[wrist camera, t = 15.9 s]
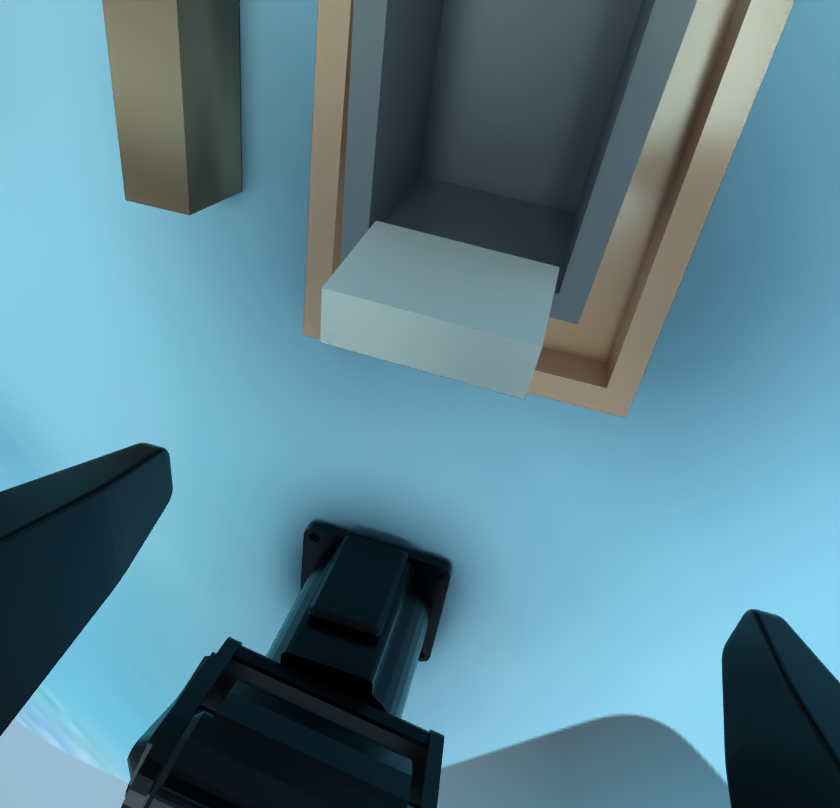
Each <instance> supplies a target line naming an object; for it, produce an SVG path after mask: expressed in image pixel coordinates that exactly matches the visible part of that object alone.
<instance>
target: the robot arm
mask: <svg viewBox="0 0 840 808" xmlns="http://www.w3.org/2000/svg"><path fill="white" fill-rule="evenodd" d="M172 490H173V485H172V475H171V465H170V456H169V453H168V451H167V450H166V449H165V448H163V447H159V446H156V445H152V444H148V443H139V444H136V445H133V446H130V447H127V448H124V449H121V450H118V451H116V452H113V453H110V454H107V455H104V456H101V457H98V458H96V459H93V460H90V461H87V462H84V463H81V464H78V465H76V466H73V467H70V468H67V469H64V470H61V471H58V472H56V473H53V474H50V475H47V476H44V477H41V478H38V479H36V480H33V481H30V482H27V483H24V484H21V485H18V486H16V487H13V488H10V489H7V490H4V491H1V492H0V736H1V735H2V733H3V732H4V731H5V729H6V728H7V727H8V726H9V724H10V723H11V722H12V720H13V719H14V718H15V717H16V715H17V714H18V713H19V711H20V710H21V709H22V707H23V706H24V705H25V704H26V702H27V701H28V700H29V698H30V697H31V696H32V694H33V693H34V692H35V691H36V689H37V688H38V687H39V685H40V684H41V683H42V682H43V680H44V679H45V678H46V676H47V675H48V674H49V672H50V671H51V670H52V669H53V667H54V666H55V665H56V663H57V662H58V661H59V659H60V658H61V657H62V656H63V654H64V653H65V652H66V650H67V649H68V648H69V647H70V645H71V644H72V643H73V641H74V640H75V639H76V637H77V636H78V635H79V634H80V632H81V631H82V630H83V628H84V627H85V626H86V624H87V623H88V622H89V621H90V619H91V618H92V617H93V615H94V614H95V613H96V612H97V610H98V609H99V608H100V606H101V605H102V604H103V602H104V601H105V600H106V599H107V597H108V596H109V595H110V593H111V592H112V591H113V589H114V588H115V587H116V585H117V584H118V583H119V581H120V580H121V578H122V577H123V575H124V574H125V572H126V571H127V569H128V568H129V566H130V564H131V563H132V561H133V560H134V558H135V556H136V555H137V553H138V551H139V550H140V548H141V547H142V545H143V543H144V542H145V540H146V538H147V537H148V535H149V534H150V532H151V530H152V529H153V527H154V525H155V524H156V522H157V521H158V519H159V517H160V516H161V514H162V513H163V511H164V509H165V508H166V506H167V504H168V503H169V501H170V498H171V495H172ZM316 534H317V535H316ZM318 535H319V536H318ZM438 571H441V572H438ZM451 573H452V567H451V565H450V564H449V563H448V562H446V561H444V560H441V559H438V558H435V557H431V556H428V555H425V554H421V553H418V552H415V551H411V550H408V549H404V548H401V547H398V546H394V545H391V544H388V543H384V542H381V541H378V540H374V539H371V538H368V537H364V536H361V535H358V534H354V533H351V532H348V531H344V530H341V529H337V528H334V527H331V526H327V525H324V524H321V523H316V522H314V523H311V524H309V525H308V527H307V528H306V530H305V532H304V539H303V556H302V573H301V590H300V594H299V596H298V597H297V599H296V601H295V603H294V605H293V607H292V609H291V611H290V612H289V614H288V616H287V618H286V620H285V622H284V624H283V625H282V627H281V629H280V631H279V633H278V635H277V637H276V639H275V640H274V642H273V644H272V646H271V648H270V650H269V652H268V653H267V655H266V656H263V655H261V654H259V653H257V652H255V651H253V650H250V649H248V648H246V647H244V646H242V642H239V641H237V640H235V639H233V638H231V637H228V638H227V640H226V641H225V643H224V644H223V645H222V647H221V648H220V649H219V651H218V652H217V654H216V653H212V654H211V655H210V656H205V657H204V658H203V660H202V661H201V663H200V664H199V666H198V668H197V669H196V671H195V672H194V674H193V675H192V677H191V679H190V680H189V682H188V683H187V685H186V686H185V688H184V689H183V691H182V692H181V693H180V695H179V696H178V697H177V698H176V700H175V701H174V702H173V703H172V704H171V705H170V706H169V707H168V708H167V710H166V711H165V712H164V713H163V714H162V715H161V716H160V717H159V718H158V719H157V720H156V721H155V722H154V724H153V725H152V726H151V727H150V728H149V729H148V730H147V731H146V732H145V733H144V734H143V735H142V736H141V738H140V739H139V740H138V741H137V742H136V744H135V745H134V747H133V748H132V750H131V752H130V754H129V756H128V759H127V761H128V767H129V772H130V778H131V780H130V782H129V785H128V788H127V790H126V795H125V800H124V802H123V804H122V807H121V808H437V801H438V791H439V783H440V773H441V764H442V755H443V745H444V735H442V734H440V733H437V732H435V731H433V730H430V731H427V730H424V729H422V728H420V727H418V726H416V725H414V724H411V723H409V722H407V721H405V720H403V719H401V717H402V714H403V710H404V707H405V703H406V700H407V696H408V693H409V690H410V686H411V683H412V679H413V676H414V672H415V669H416V666H417V662H418V661H427V660H428V659H429V658H430V655H431V651H432V647H433V643H434V639H435V635H436V632H437V628H438V624H439V620H440V616H441V612H442V608H443V604H444V600H445V597H446V593H447V589H448V585H449V581H450V577H451ZM722 684H723V715H724V746H725V764H726V774H727V782H728V789H729V796H730V803H731V808H840V682H839V681H838V680H837V679H836V678H835V677H834V676H833V674H832V673H831V672H830V671H829V670H828V669H827V668H826V667H825V665H824V664H823V663H822V662H821V661H820V660H819V659H818V657H817V656H816V655H815V654H814V653H813V652H812V651H811V649H810V648H809V647H808V646H807V645H806V644H805V643H804V641H803V640H802V639H801V638H800V637H799V636H798V635H797V633H796V632H795V631H794V630H793V629H792V628H791V627H790V625H789V624H788V623H787V622H786V621H785V620H784V619H783V618H781V617H780V616H778V615H775V614H771V613H767V612H764V611H760V610H756V609H750V610H748V611H747V612H745V614H744V615H743V616H742V618H741V620H740V621H739V623H738V624H737V626H736V628H735V629H734V631H733V632H732V634H731V636H730V637H729V639H728V640H727V642H726V644H725V646H724V649H723V653H722Z"/></svg>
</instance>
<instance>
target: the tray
mask: <svg viewBox="0 0 840 808" xmlns="http://www.w3.org/2000/svg"><path fill="white" fill-rule="evenodd" d="M794 1H795V0H697V2H696V5H695V8H694V11H693V13H692V16H691V19H690V21H689V24H688V27H687V30H686V32H685V35H684V38H683V41H682V43H681V46H680V49H679V51H678V54H677V57H676V60H675V62H674V65H673V68H672V70H671V73H670V76H669V79H668V81H667V84H666V87H665V89H664V92H663V95H662V98H661V100H660V103H659V106H658V108H657V111H656V114H655V117H654V119H653V122H652V125H651V127H650V130H649V133H648V136H647V138H646V141H645V144H644V147H643V149H642V152H641V155H640V157H639V160H638V163H637V166H636V168H635V171H634V174H633V176H632V179H631V182H630V185H629V187H628V190H627V193H626V195H625V198H624V201H623V204H622V206H621V209H620V212H619V214H618V217H617V220H616V223H615V225H614V228H613V231H612V233H611V236H610V239H609V242H608V244H607V247H606V250H605V253H604V255H603V258H602V261H601V263H600V266H599V269H598V272H597V274H596V277H595V280H594V282H593V285H592V288H591V291H590V293H589V296H588V299H587V301H586V304H585V307H584V310H583V312H582V315H581V318H580V320H579V323H578V324H574V323H570V322H566V321H563V320H559V319H555V318H551V317H549V319H548V323H547V328H546V332H545V337H544V342H543V346H542V350H541V353H540V356H539V359H538V362H537V365H536V368H535V371H534V374H533V377H532V380H531V383H530V386H529V389H528V392H527V393H530V394H534V395H538V396H542V397H546V398H550V399H553V400H557V401H561V402H565V403H569V404H573V405H577V406H581V407H585V408H588V409H592V410H596V411H600V412H604V413H608V414H612V415H616V416H620V417H623V418H626V416H627V413H628V411H629V408H630V406H631V404H632V401H633V399H634V396H635V394H636V391H637V389H638V386H639V384H640V381H641V379H642V376H643V374H644V371H645V369H646V366H647V364H648V362H649V359H650V357H651V354H652V352H653V349H654V347H655V344H656V342H657V339H658V337H659V334H660V332H661V329H662V327H663V324H664V322H665V320H666V317H667V315H668V312H669V310H670V307H671V305H672V302H673V300H674V297H675V295H676V292H677V290H678V287H679V285H680V283H681V280H682V278H683V275H684V273H685V270H686V268H687V265H688V263H689V260H690V258H691V255H692V253H693V250H694V248H695V245H696V243H697V241H698V238H699V236H700V233H701V231H702V228H703V226H704V223H705V221H706V218H707V216H708V213H709V211H710V208H711V206H712V203H713V201H714V199H715V196H716V194H717V191H718V189H719V186H720V184H721V181H722V179H723V176H724V174H725V171H726V169H727V166H728V164H729V162H730V159H731V157H732V154H733V152H734V149H735V147H736V144H737V142H738V139H739V137H740V134H741V132H742V129H743V127H744V124H745V122H746V120H747V117H748V115H749V112H750V110H751V107H752V105H753V102H754V100H755V97H756V95H757V92H758V90H759V87H760V85H761V83H762V80H763V78H764V75H765V73H766V70H767V68H768V65H769V63H770V60H771V58H772V55H773V53H774V50H775V48H776V45H777V43H778V41H779V38H780V36H781V33H782V31H783V28H784V26H785V23H786V21H787V18H788V16H789V13H790V11H791V8H792V6H793V3H794ZM353 7H354V0H318V20H317V41H316V63H315V85H314V107H313V129H312V150H311V172H310V194H309V216H308V237H307V259H306V281H305V303H304V324H303V335H305V336H308V337H312V338H316V339H320V332H321V299H322V287H323V286H324V284H325V283H326V282H327V281H328V280H329V278H330V277H331V276H332V275H333V273H334V272H335V271H336V270H337V268H338V267H339V266H340V265H341V263H342V262H340V260H341V241H342V221H343V202H344V182H345V163H346V143H347V124H348V105H349V85H350V66H351V46H352V27H353Z"/></svg>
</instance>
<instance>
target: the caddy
mask: <svg viewBox="0 0 840 808" xmlns="http://www.w3.org/2000/svg"><path fill="white" fill-rule="evenodd" d="M696 2H697V0H354V7H353V27H352V46H351V66H350V85H349V105H348V124H347V143H346V163H345V182H344V202H343V221H342V241H341V260H340V262H342V263H341V265H340V266H339V267H338V268H337V270H336V271H335V272H334V273H333V275H332V276H331V277H330V278H329V280H328V281H327V282H326V283H325V284H324V286H323V287H322V299H321V332H320V342H322V343H325V344H329V345H332V346H336V347H339V348H343V349H346V350H350V351H354V352H357V353H361V354H364V355H368V356H371V357H375V358H378V359H382V360H386V361H389V362H393V363H396V364H400V365H403V366H407V367H410V368H414V369H418V370H421V371H425V372H428V373H432V374H435V375H439V376H442V377H446V378H450V379H453V380H457V381H460V382H464V383H467V384H471V385H474V386H478V387H482V388H485V389H489V390H492V391H496V392H499V393H503V394H506V395H510V396H514V397H517V398H521V399H524V400H525V398H526V395H527V392H528V389H529V386H530V383H531V380H532V377H533V374H534V371H535V368H536V365H537V362H538V359H539V356H540V353H541V350H542V346H543V342H544V337H545V332H546V328H547V323H548V319H549V317H551V318H555V319H559V320H563V321H566V322H570V323H574V324H578V323H579V320H580V318H581V315H582V312H583V310H584V307H585V304H586V301H587V299H588V296H589V293H590V291H591V288H592V285H593V282H594V280H595V277H596V274H597V272H598V269H599V266H600V263H601V261H602V258H603V255H604V253H605V250H606V247H607V244H608V242H609V239H610V236H611V233H612V231H613V228H614V225H615V223H616V220H617V217H618V214H619V212H620V209H621V206H622V204H623V201H624V198H625V195H626V193H627V190H628V187H629V185H630V182H631V179H632V176H633V174H634V171H635V168H636V166H637V163H638V160H639V157H640V155H641V152H642V149H643V147H644V144H645V141H646V138H647V136H648V133H649V130H650V127H651V125H652V122H653V119H654V117H655V114H656V111H657V108H658V106H659V103H660V100H661V98H662V95H663V92H664V89H665V87H666V84H667V81H668V79H669V76H670V73H671V70H672V68H673V65H674V62H675V60H676V57H677V54H678V51H679V49H680V46H681V43H682V41H683V38H684V35H685V32H686V30H687V27H688V24H689V21H690V19H691V16H692V13H693V11H694V8H695V5H696Z"/></svg>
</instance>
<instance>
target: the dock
mask: <svg viewBox="0 0 840 808" xmlns="http://www.w3.org/2000/svg"><path fill="white" fill-rule="evenodd" d="M102 3H103V11H104V20H105V28H106V37H107V46H108V54H109V63H110V71H111V80H112V88H113V97H114V105H115V114H116V122H117V131H118V140H119V148H120V157H121V165H122V174H123V182H124V191H125V199H126V200H127V201H132V202H136V203H140V204H144V205H149V206H153V207H157V208H161V209H166V210H170V211H174V212H178V213H182V214H187V215H191V214H193V213H196V212H198V211H200V210H202V209H204V208H207V207H209V206H211V205H213V204H215V203H218V202H220V201H222V200H224V199H226V198H229V197H231V196H233V195H235V194H237V193H240V192H242V182H241V110H240V38H239V0H102Z"/></svg>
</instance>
